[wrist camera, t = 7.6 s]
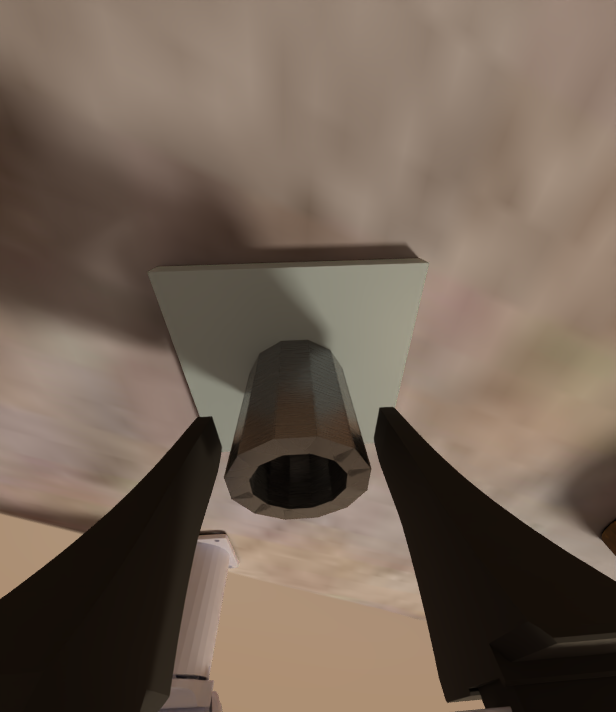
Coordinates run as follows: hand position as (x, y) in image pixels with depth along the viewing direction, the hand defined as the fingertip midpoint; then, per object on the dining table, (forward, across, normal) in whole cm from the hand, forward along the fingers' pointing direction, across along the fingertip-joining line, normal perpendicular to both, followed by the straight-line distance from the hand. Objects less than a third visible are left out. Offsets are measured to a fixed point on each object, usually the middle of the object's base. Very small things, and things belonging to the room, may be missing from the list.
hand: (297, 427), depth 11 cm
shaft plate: (+4, 0, 0) cm, 5 cm away
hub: (+3, 0, 0) cm, 3 cm away
